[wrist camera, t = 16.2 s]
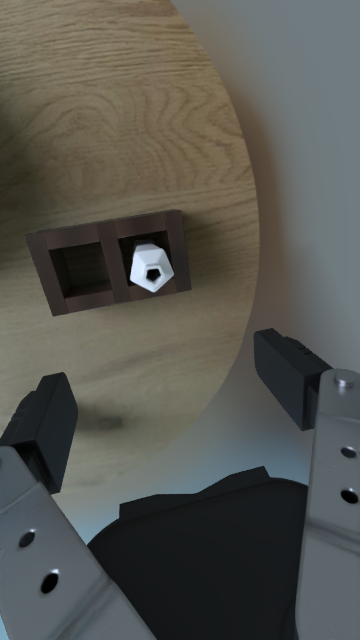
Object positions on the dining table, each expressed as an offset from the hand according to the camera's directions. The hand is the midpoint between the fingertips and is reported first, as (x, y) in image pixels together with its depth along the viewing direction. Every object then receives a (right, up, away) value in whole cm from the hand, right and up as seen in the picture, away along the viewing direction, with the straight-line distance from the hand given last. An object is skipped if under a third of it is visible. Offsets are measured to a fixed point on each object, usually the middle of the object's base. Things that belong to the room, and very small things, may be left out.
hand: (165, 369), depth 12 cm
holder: (-8, +11, +28) cm, 31 cm away
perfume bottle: (-4, +12, +28) cm, 31 cm away
